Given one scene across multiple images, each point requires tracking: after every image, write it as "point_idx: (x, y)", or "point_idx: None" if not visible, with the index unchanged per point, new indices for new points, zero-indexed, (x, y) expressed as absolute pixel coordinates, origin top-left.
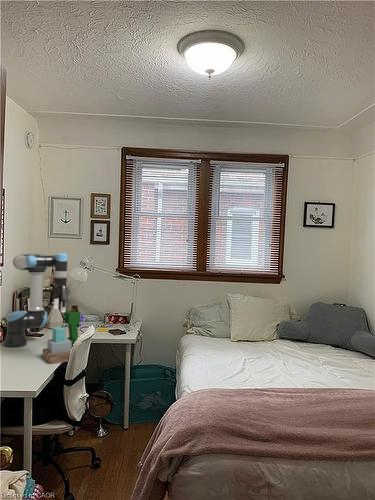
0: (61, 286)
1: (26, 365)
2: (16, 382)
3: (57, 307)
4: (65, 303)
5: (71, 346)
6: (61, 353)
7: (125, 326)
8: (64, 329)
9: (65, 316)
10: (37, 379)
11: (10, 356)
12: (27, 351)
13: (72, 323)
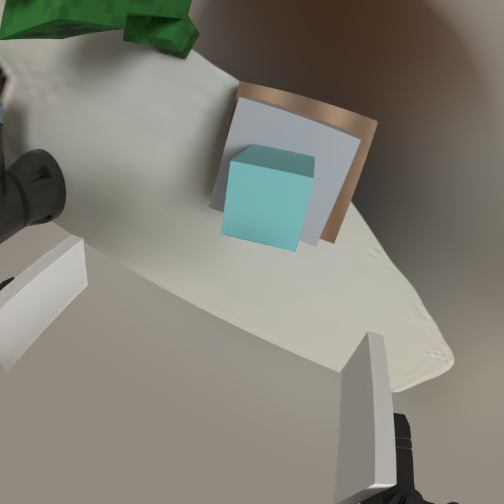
0: None
1: (279, 287)
2: None
3: (74, 254)
4: (393, 457)
5: (357, 136)
6: (348, 191)
7: None
8: (311, 186)
9: (37, 35)
10: (416, 332)
11: (149, 264)
12: (121, 193)
13: (126, 3)
